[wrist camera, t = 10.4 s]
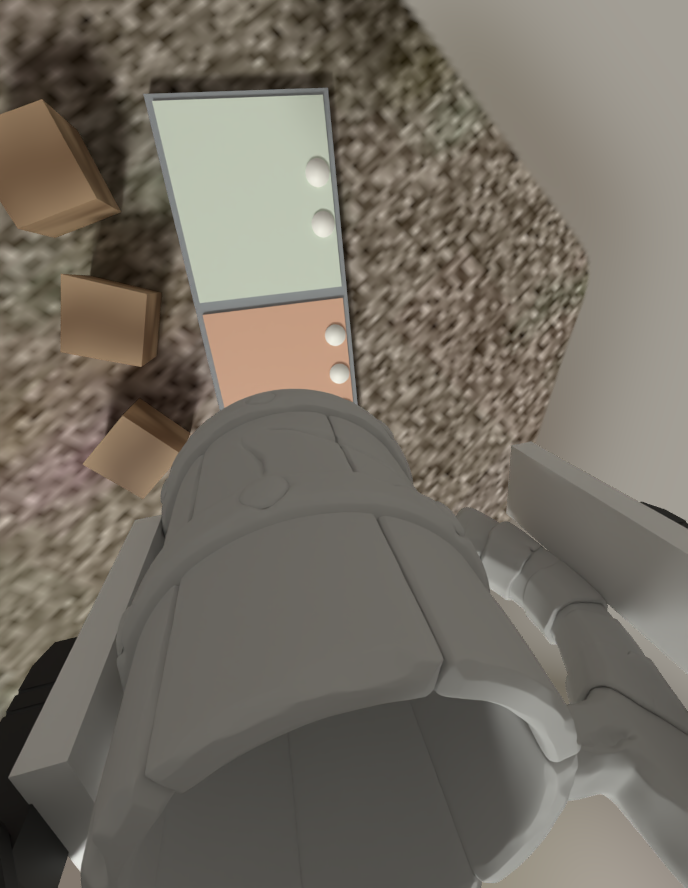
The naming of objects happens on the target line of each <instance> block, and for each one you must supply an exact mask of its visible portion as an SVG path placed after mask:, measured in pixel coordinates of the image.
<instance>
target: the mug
mask: <svg viewBox="0 0 688 888" xmlns="http://www.w3.org/2000/svg"><path fill="white" fill-rule="evenodd" d="M161 503H162V504H163V505H162V526H163V532H164V536H165V542H164V546H163V549H162V550H161V551H160V552H159V554H158V555H157V556H156V558H155V559H154V561H153V562H152V564H151V566H150V567H149V569H148V571H147V572H146V574H145V576H144V578H143V580H142V582H141V584H140V586H139V588H138V590H137V593H136V595H135V597H134V599H133V602H132V605H131V606H129V607H128V608H127V609H126V610H125V611H124V613H123V614H122V617H121V619H120V622H119V626H118V631H117V636H116V649H117V655H118V658H117V667H118V671H119V675H120V680H121V685H122V690H123V694H124V695H123V699H122V703H121V706H120V710H119V714H118V718H117V721H116V725H115V729H114V733H113V736H112V740H111V744H110V748H109V751H108V755H107V759H106V762H105V766H104V770H103V774H102V777H101V781H100V785H99V789H98V792H97V796H96V800H95V804H94V808H93V812H92V816H91V821H90V826H89V831H88V836H87V840H86V845H85V850H84V854H83V859H82V864H81V885H82V888H481V884H482V881H483V882H487V883H497V882H499V881H501V880H502V879H504V878H505V877H506V876H508V875H509V874H510V873H511V872H513V871H514V870H515V869H517V868H518V867H519V866H520V865H521V864H522V863H523V862H524V861H525V860H526V859H527V858H528V857H529V856H530V855H531V854H532V853H533V852H534V851H535V849H536V848H537V847H538V846H539V845H540V844H541V842H542V841H543V840H544V839H545V837H546V836H547V835H548V833H549V831H550V830H551V828H552V827H553V825H554V823H555V821H556V820H557V818H558V817H559V815H560V814H561V812H562V811H563V809H564V807H565V806H566V804H567V801H569V800H578V799H583V798H586V797H589V796H594V795H598V794H602V795H604V796H606V797H607V798H609V799H610V800H611V801H612V802H613V803H614V804H615V805H616V806H617V807H618V808H619V809H620V810H621V812H622V813H623V814H624V815H625V817H626V818H627V819H628V820H629V821H630V823H631V824H632V825H633V826H634V828H636V830H637V831H638V832H639V833H640V834H641V836H642V837H643V838H644V839H645V841H646V842H647V843H648V844H649V846H650V847H651V848H652V850H653V851H654V852H655V853H656V855H657V856H658V857H659V858H660V860H661V861H662V862H663V863H664V864H665V866H666V867H667V868H668V869H669V870H670V872H672V874H673V875H674V876H675V877H676V878H677V879H678V881H679V882H680V883H681V884H682V885H683V886H684V887H685V888H688V711H687V710H686V708H685V707H684V706H683V704H682V703H681V701H680V700H679V699H678V697H677V696H676V694H675V693H674V692H673V690H672V689H671V687H670V686H669V685H668V683H667V682H666V680H665V679H664V678H663V676H662V675H661V673H660V672H659V671H658V669H657V667H656V666H655V665H654V663H653V662H652V660H650V659H649V658H647V657H646V656H645V655H644V653H643V652H642V651H641V649H640V648H639V646H638V645H637V643H636V642H635V641H634V639H633V638H632V637H631V636H630V634H629V633H628V632H627V631H626V630H625V628H624V627H623V626H622V625H621V624H620V622H619V621H618V620H617V619H614V618H613V617H612V616H611V615H610V614H609V612H608V611H607V607H608V605H607V601H606V600H605V598H604V597H603V596H602V595H601V594H600V593H599V592H598V591H597V590H596V589H595V588H594V587H593V586H592V585H591V584H589V583H588V582H587V581H586V580H585V579H584V578H582V577H581V576H580V575H579V574H578V573H576V572H575V571H574V570H573V569H571V568H570V567H569V566H568V565H567V564H566V563H565V562H564V561H561V560H560V559H558V558H557V557H556V556H555V555H554V554H552V553H551V552H549V551H548V550H546V549H545V548H544V547H542V546H541V545H540V544H539V543H538V542H536V541H535V540H534V539H532V538H531V537H530V536H529V535H527V534H526V533H525V532H523V531H522V530H521V529H519V528H518V527H516V526H514V525H513V524H511V523H510V522H502V523H499V522H497V521H495V520H494V519H492V518H491V517H489V516H487V515H485V514H483V513H481V512H480V511H478V510H476V509H473V508H469V507H465V508H463V509H461V510H460V511H459V512H458V514H457V515H456V516H455V515H454V514H453V512H452V511H451V510H450V509H449V508H448V507H447V506H446V505H444V504H443V503H441V502H439V501H436V502H435V501H434V500H433V499H431V498H429V497H427V496H425V495H423V494H421V493H419V492H418V491H417V490H416V489H415V487H414V486H413V480H412V475H411V471H410V467H409V465H408V462H407V460H406V458H405V455H404V453H403V452H402V450H401V448H400V446H399V445H398V443H397V442H396V440H395V439H394V436H393V433H392V432H391V430H390V429H389V428H388V426H387V425H386V424H384V423H383V422H382V421H380V420H378V419H376V418H375V417H374V416H373V415H371V414H370V413H369V412H368V411H366V410H365V409H363V408H362V407H360V406H358V405H357V404H355V403H353V402H351V401H349V400H346V399H343V398H341V397H339V396H337V395H334V394H330V393H326V392H322V391H316V390H309V389H280V390H272V391H267V392H262V393H259V394H255V395H252V396H249V397H246V398H244V399H241V400H239V401H237V402H235V403H233V404H231V405H229V406H227V407H225V408H224V409H222V410H221V411H219V412H217V413H216V414H215V415H213V416H212V417H211V418H209V419H208V420H207V421H205V422H204V423H203V424H202V425H201V426H200V427H199V428H198V429H197V430H196V431H195V432H194V433H193V434H192V435H191V437H190V438H189V439H188V441H187V442H186V443H185V445H184V446H183V448H182V449H181V450H180V452H179V453H178V455H177V456H176V458H175V460H174V462H173V464H172V467H171V470H170V474H169V477H168V478H167V479H166V481H165V483H164V484H163V487H162V491H161ZM490 589H491V590H493V591H494V592H496V593H497V594H499V595H500V596H502V597H503V598H504V599H506V600H513V601H514V602H516V603H517V604H518V605H519V606H520V607H521V608H523V610H525V613H526V616H527V617H528V619H530V621H531V622H532V623H533V624H534V625H535V626H536V627H537V628H538V629H539V630H540V631H541V632H542V634H543V635H544V637H545V638H546V639H547V641H548V642H549V643H550V644H557V646H558V648H559V651H560V654H561V657H562V659H563V662H564V665H565V668H566V671H567V674H568V675H567V677H566V691H567V695H568V699H569V702H570V704H568V705H566V703H565V702H564V700H563V698H562V697H561V695H560V694H559V692H558V691H557V689H556V688H555V686H554V685H553V683H552V681H551V680H550V678H549V677H548V675H547V674H546V672H545V671H544V669H543V668H542V666H541V665H540V663H539V662H538V660H537V658H536V657H535V655H534V654H533V652H532V651H531V649H530V648H529V646H528V645H527V643H526V642H525V640H524V639H523V637H522V636H521V635H520V633H519V632H518V630H517V629H516V627H515V626H514V624H513V623H512V622H511V620H510V619H509V617H508V616H507V615H506V613H505V612H504V610H503V609H502V608H501V606H500V605H499V604H498V603H497V601H496V600H495V599H494V598H493V597H492V595H491V594H490Z"/></svg>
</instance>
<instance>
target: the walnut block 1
mask: <svg viewBox="0 0 688 888" xmlns="http://www.w3.org/2000/svg"><path fill="white" fill-rule="evenodd" d="M0 202H1V203H2V205H3V206H4V208H5V209H6V211H7V212H8V214H9V216H10V217H11V219H12V220H13V222H14V223H15V225H16V226H17V228H18V229H21V230H25V231H29V232H33V233H37V234H41V235H46V236H50V237H54V238H56V237H59V236H61V235H64V234H66V233H69V232H72V231H74V230H77V229H79V228H82V227H85V226H87V225H90V224H92V223H95V222H97V221H100V220H103V219H105V218H108V217H110V216H113V215H116V214H118V213H121V211H120V209H119V207H118V205H117V203H116V202H115V200H114V198H113V196H112V194H111V192H110V190H109V188H108V187H107V185H106V183H105V181H104V179H103V177H102V175H101V173H100V172H99V170H98V168H97V166H96V164H95V162H94V160H93V158H92V157H91V155H90V153H89V151H88V149H87V147H86V145H85V143H84V142H83V140H82V138H81V136H80V134H79V132H78V131H77V130H76V129H75V128H74V127H73V126H72V125H71V124H69V123H68V122H67V121H66V120H65V119H64V118H63V117H62V116H61V115H59V114H58V113H57V112H56V111H55V110H54V109H53V108H52V107H50V106H49V105H48V104H47V103H46V102H45V101H44V100H43V99H41V100H38V101H36V102H33V103H30V104H27V105H25V106H22V107H19V108H16V109H14V110H11V111H8V112H6V113H3V114H0Z"/></svg>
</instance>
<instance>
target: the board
mask: <svg viewBox="0 0 688 888" xmlns="http://www.w3.org/2000/svg"><path fill="white" fill-rule="evenodd" d="M144 98H145V102H146V106H147V111H148V115H149V119H150V123H151V127H152V131H153V135H154V139H155V144H156V148H157V152H158V156H159V160H160V164H161V168H162V173H163V177H164V181H165V185H166V189H167V193H168V197H169V202H170V206H171V210H172V214H173V218H174V222H175V226H176V231H177V235H178V239H179V243H180V247H181V251H182V255H183V260H184V264H185V268H186V272H187V276H188V280H189V284H190V289H191V293H192V297H193V301H194V305H195V309H196V313H197V317H198V322H199V326H200V330H201V334H202V338H203V342H204V346H205V351H206V355H207V359H208V363H209V367H210V371H211V375H212V380H213V384H214V388H215V392H216V396H217V400H218V404H219V409H220V411H221V410H222V409H224V408H225V407H227V406H229V405H231V404H233V403H235V402H237V401H239V400H241V399H244V398H246V397H249V396H252V395H255V394H259V393H262V392H267V391H272V390H280V389H309V390H316V391H322V392H326V393H330V394H334V395H337V396H339V397H341V398H343V399H346V400H349V401H351V402H353V403H355V404H357V393H356V383H355V372H354V361H353V351H352V340H351V329H350V319H349V308H348V298H347V287H346V276H345V266H344V255H343V244H342V234H341V223H340V212H339V202H338V191H337V180H336V170H335V159H334V148H333V138H332V127H331V116H330V106H329V95H328V88H305V89H276V90H247V91H218V92H188V93H159V94H144ZM357 405H358V404H357Z"/></svg>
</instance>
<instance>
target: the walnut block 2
mask: <svg viewBox="0 0 688 888" xmlns="http://www.w3.org/2000/svg"><path fill="white" fill-rule="evenodd" d="M161 297H162V293H161V292H157V291H153V290H148V289H144V288H140V287H136V286H131V285H127V284H123V283H119V282H114V281H110V280H106V279H102V278H97V277H93V276H86V275H69V274H61V352H62V353H68V354H73V355H79V356H84V357H90V358H95V359H101V360H106V361H112V362H117V363H123V364H128V365H133V366H139V367H142V366H144V365H145V364H146V363H148V362H149V361H150V360H152V359H153V358H154V357H156V356H157V345H158V333H159V321H160V309H161Z"/></svg>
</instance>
